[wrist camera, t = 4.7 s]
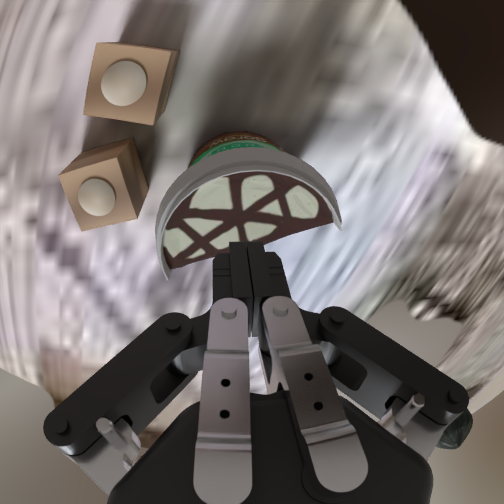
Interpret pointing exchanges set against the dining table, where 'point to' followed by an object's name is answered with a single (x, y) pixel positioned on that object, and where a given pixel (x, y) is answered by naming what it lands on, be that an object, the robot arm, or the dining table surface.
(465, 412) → the squash
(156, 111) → the marked block
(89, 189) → the marked block
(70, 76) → the dining table surface
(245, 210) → the food container
